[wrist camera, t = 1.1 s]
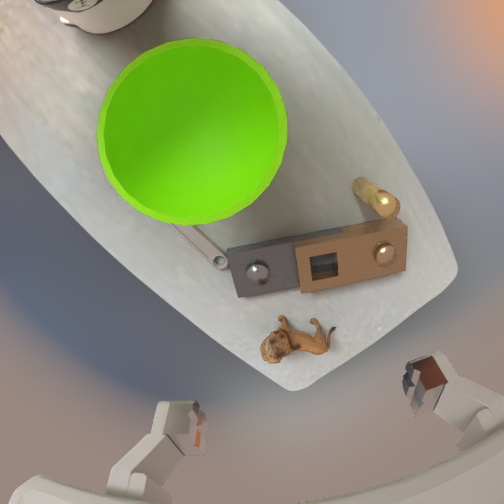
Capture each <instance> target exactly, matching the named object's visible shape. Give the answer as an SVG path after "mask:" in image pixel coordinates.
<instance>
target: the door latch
mask: <svg viewBox="0 0 504 504" xmlns="http://www.w3.org/2000/svg"><path fill="white" fill-rule="evenodd" d="M406 251H407V226H406V225H405V224H404V223H403V222H402V221H400V220H399V219H398V218H397V217H394V218H392V219H383V220H378V221H372V222H367V223H361V224H356V225H351V226H345V227H340V228H334V229H329V230H324V231H319V232H313V233H308V234H303V235H297V236H292V237H287V238H282V239H276V240H271V241H266V242H261V243H256V244H250V245H245V246H240V247H235V248H230V249H227V259H228V262H229V266H230V270H231V273H232V277H233V281H234V284H235V288H236V291H237V295H238V298H241V297H246V296H252V295H258V294H263V293H269V292H274V291H279V290H284V289H290V288H295V287H300V291H301V294H302V293H307V292H312V291H317V290H322V289H327V288H331V287H336V286H341V285H345V284H350V283H355V282H359V281H364V280H368V279H372V278H377V277H381V276H385V275H389V274H393V273H398V272H402V271H405V267H406ZM328 253H331V257H332V263H331V264H326V265H321V266H316V267H310V258H309V257H313V256H318V255H323V254H328Z"/></svg>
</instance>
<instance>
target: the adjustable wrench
mask: <svg viewBox="0 0 504 504" xmlns="http://www.w3.org/2000/svg"><path fill="white" fill-rule="evenodd" d="M103 173H104V177H105V179H106V181H107V182H108V184H109V185H110V186H111V187H112V188H113V189H114V190H115V191H117V190H116V189H115V188H114V186H113V185H112V184H111V182H110V181H109V180H108V177H107V175H106V172H105V170H104V172H103ZM116 194H117V195H119V193H118V192H117V193H116ZM166 223H167V222H166ZM167 224H168V225H169V226H171V227H172V228H173V229H174V230H175V231H176V232H177V233H178V234H179V235H180V236H181V237H182V238H183V239H184V240H185V241H186V242H187V243H189V244H190V245H191V246H192V247H193V248H194V249H195V250H196V251H197V252H198V253H199V254H200V255H201V256H202V257H204V258H205V259H206V260H207V261H208V262H209V263H210V264H211V265H212V266H213V267H215V268H216V269H224V268H226V267H227V265H228V259H227V254H226V253H225V252H223V251H222V250H221V249H220V248H219V247H218V246H217V245H216V244H215V243H214V242H212V241H211V240H210V239H209V238H208V237H207V236H206V235H205V234H204V233H203V232H201V231H200V230H199V229H198V228H197V227H196V226H195V225H185V226H183V225H178V224H172V223H167ZM217 256H223V257H224V258H225V263H224V264H217V263H216V262H215V258H216V257H217Z"/></svg>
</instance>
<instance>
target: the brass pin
mask: <svg viewBox="0 0 504 504" xmlns="http://www.w3.org/2000/svg"><path fill="white" fill-rule="evenodd" d="M352 189H353V192H354V193H355V194H356V195H357V196H358V197H359V198H361V199H362V200H363V201H364V202H365V203H367V204H368V205H369V206H370V207H371V208H372V209H374V210H375V211H376V212H377V213H378V214H379V215H381V216H382V217H383V218H384V219H392V218H394V217H396V216H397V214H398V213H399V210H400V203H399V200H398V199H397V198H396V197H394V196H393V195H391V194H390V193H388V192H387V191H385V190H383V189H382V188H380V187H379V186H377V185H376V184H374V183H373V182H371V181H369V180H368V179H366V178H364V177H360V178H357V179H356V180H355V181H354V183H353V186H352Z"/></svg>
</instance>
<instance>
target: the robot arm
mask: <svg viewBox="0 0 504 504" xmlns="http://www.w3.org/2000/svg"><path fill="white" fill-rule="evenodd" d="M35 1H36V2H37V3H39V4H40V5H42V6H43V7H46V8H47V9H48V10H50V11H52V12H53V13H55V14H57V15H59V16H60V20H61V22H63V23H65V24H74V25H77V26H78V27H80V28H81V29H82V30H84V31H86V32H89V33H94V34H101V33H108V32H112V31H115V30H117V29H120V28H122V27H124V26H126V25H127V24H129V23H131V22H132V21H133V20H135V19H136V18H137V17H138V16H140V15H141V14H142V13H143V12H144V11H145V10H146V8H147V7H148V6H149V5H150V3H151V2H152V0H35ZM406 371H407V372H406V373H405V374H404V375H403V380H402V383H403V389H404V392H405V395H406V397H408V398H410V399H412V400H411V403H410V406H411V408H412V410H413V413H414V415H415V417H417V416H420V415H423V414H426V413H428V412H431V411H433V412H435V413H436V414H437V415H439V416H440V417H442V418H443V419H444V420H446V421H447V422H449V423H450V424H451V425H453V426H454V427H456V428H457V429H459V430H460V431H461V432H463V435H462V436H461V437H460V439H459V440H458V442H457V444H456V446H457V448H458V450H459V453H458V454H456V455H454V456H452V457H450V458H447V459H445V460H443V461H441V462H439V463H436V464H434V465H432V466H429V467H427V468H425V469H422V470H420V471H417V472H415V473H412V474H410V475H407V476H404V477H401V478H398V479H395V480H392V481H389V482H386V483H383V484H380V485H377V486H373V487H369V488H366V489H362V490H358V491H355V492H351V493H347V494H342V495H337V496H333V497H328V498H323V499H317V500H311V501H305V502H298V503H291V504H504V397H503V396H500V395H499V394H496V393H494V392H492V391H490V390H488V389H486V388H484V387H482V386H480V385H478V384H476V383H474V382H472V381H470V380H467V379H465V378H463V377H461V378H459V377H458V375H457V373H456V372H455V370H454V369H453V367H452V366H451V365H450V363H449V361H448V360H447V358H446V357H445V355H444V354H443V352H441V351H438V352H436V353H433V354H430V355H426V356H423V357H420V358H418V359H415V360H412V361H409V362H408V363H407V364H406ZM199 407H200V405H199V403H198V402H197V401H160V402H159V404H158V405H157V409H156V413H155V417H154V421H153V426H152V430H151V434H147V435H146V436H145V437H144V438H143V439H142V440H141V441H140V442H139V443H138V444H137V445H136V446H134V448H133V449H131V450H130V451H129V452H128V453H127V454H126V455H125V456H124V457H123V458H122V459H121V460H120V461H119V462H118V463H117V464H116V465H114V466H113V467H112V469H111V473H110V477H109V481H108V485H107V489H106V492H105V494H103V493H99V492H95V491H92V490H88V489H84V488H81V487H77V486H74V485H71V484H67V483H65V482H61V481H59V480H56V479H53V478H50V477H47V476H45V475H36V476H34V477H33V478H31V479H29V480H28V481H26V482H25V483H24V484H22V485H21V486H19V487H18V488H17V489H16V490H15V491H14V493H13V495H12V497H11V499H10V501H9V503H8V504H172V495H171V494H170V493H168V492H167V491H166V490H164V489H163V488H162V486H163V485H164V483H165V482H166V481H167V480H168V478H169V477H170V476H171V475H172V473H173V472H174V471H175V469H176V468H177V467H178V465H179V464H180V463H181V461H182V460H183V459H184V457H185V456H199V455H205V447H206V441H205V439H204V438H203V436H204V435H205V434H206V433H207V419H206V416H205V414H204V412H203V411H201V410H199Z"/></svg>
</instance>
